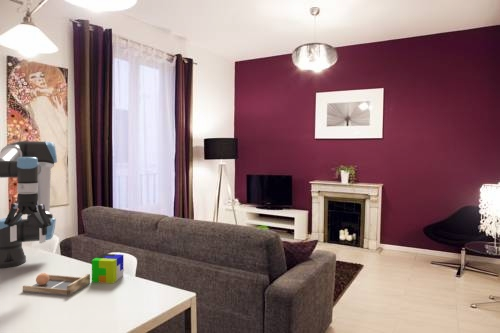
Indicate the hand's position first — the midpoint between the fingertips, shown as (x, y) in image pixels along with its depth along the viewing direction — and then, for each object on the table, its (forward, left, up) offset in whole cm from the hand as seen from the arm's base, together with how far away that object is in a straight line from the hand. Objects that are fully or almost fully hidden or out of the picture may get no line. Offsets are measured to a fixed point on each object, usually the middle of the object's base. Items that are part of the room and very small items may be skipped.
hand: (27, 241), depth 152 cm
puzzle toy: (-14, +29, -19) cm, 38 cm away
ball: (0, +7, -16) cm, 17 cm away
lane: (0, +14, -19) cm, 24 cm away
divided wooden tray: (0, +14, -19) cm, 24 cm away
